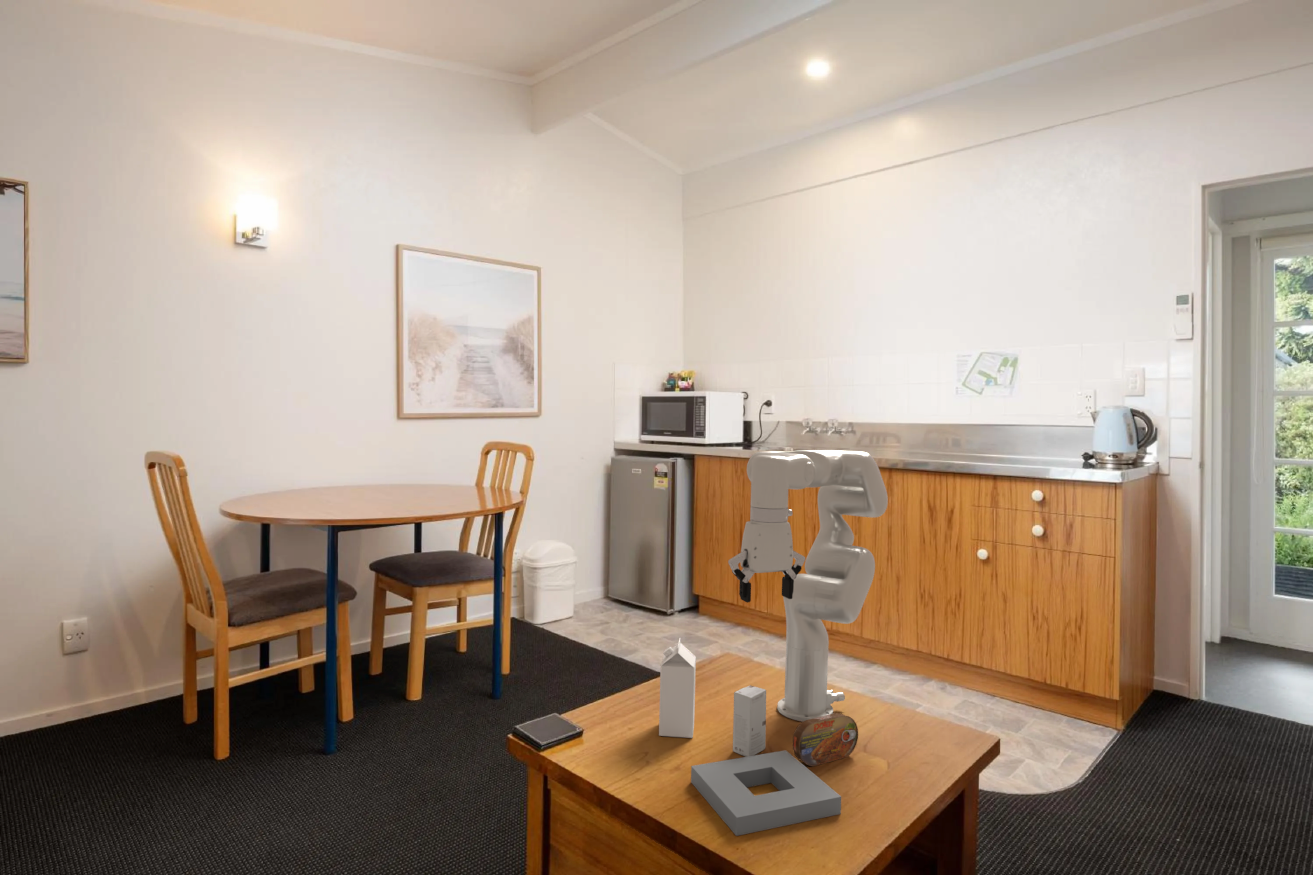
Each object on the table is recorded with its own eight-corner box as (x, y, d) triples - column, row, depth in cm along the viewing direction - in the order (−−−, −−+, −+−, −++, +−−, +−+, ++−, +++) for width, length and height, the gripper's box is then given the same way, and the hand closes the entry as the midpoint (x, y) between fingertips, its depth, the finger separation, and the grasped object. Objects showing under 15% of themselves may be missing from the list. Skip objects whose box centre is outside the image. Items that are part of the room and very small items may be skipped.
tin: (799, 770, 139) (800, 726, 139) (789, 762, 142) (790, 720, 141) (858, 754, 146) (860, 713, 146) (848, 748, 149) (849, 707, 148)
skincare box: (749, 758, 143) (751, 698, 143) (731, 751, 146) (732, 691, 145) (766, 748, 148) (768, 689, 147) (748, 741, 150) (749, 683, 150)
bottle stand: (785, 765, 140) (785, 750, 140) (840, 813, 124) (841, 796, 124) (690, 781, 133) (691, 765, 133) (736, 835, 116) (736, 817, 116)
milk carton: (694, 724, 158) (696, 638, 158) (692, 738, 151) (694, 648, 150) (661, 722, 159) (663, 636, 158) (658, 736, 152) (660, 646, 151)
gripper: (795, 512, 154) (793, 592, 155) (722, 514, 148) (720, 597, 148) (815, 517, 147) (812, 600, 148) (739, 519, 141) (737, 606, 141)
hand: (766, 599), depth 148 cm, fingers open, 9 cm apart
